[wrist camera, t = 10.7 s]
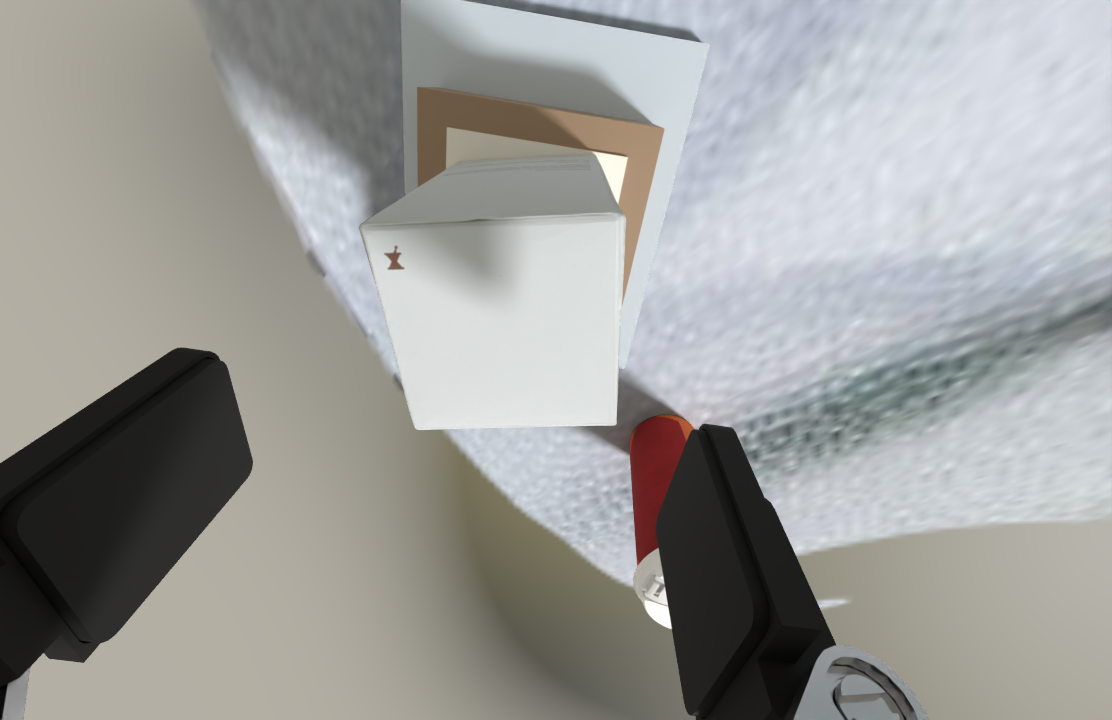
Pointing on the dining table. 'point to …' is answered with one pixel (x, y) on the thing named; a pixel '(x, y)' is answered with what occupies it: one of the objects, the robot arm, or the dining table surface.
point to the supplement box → (504, 293)
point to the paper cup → (653, 502)
